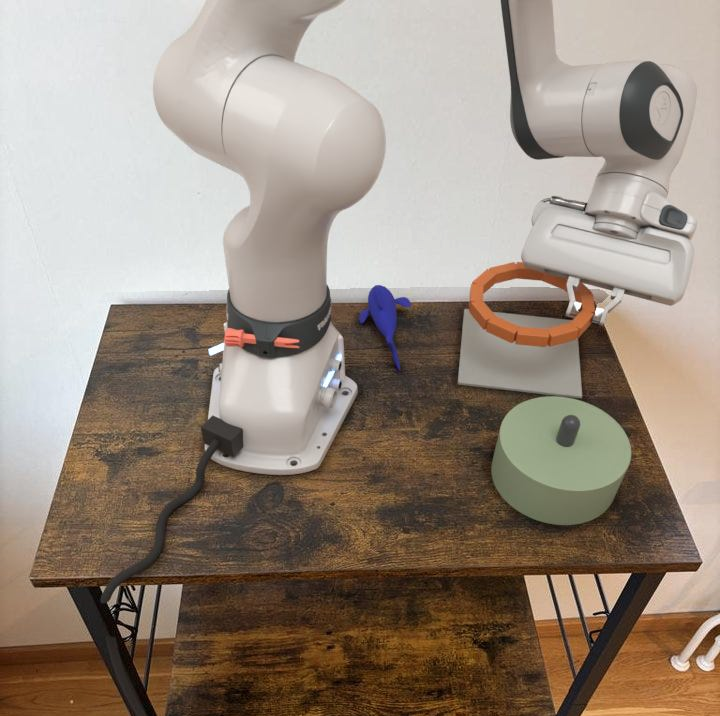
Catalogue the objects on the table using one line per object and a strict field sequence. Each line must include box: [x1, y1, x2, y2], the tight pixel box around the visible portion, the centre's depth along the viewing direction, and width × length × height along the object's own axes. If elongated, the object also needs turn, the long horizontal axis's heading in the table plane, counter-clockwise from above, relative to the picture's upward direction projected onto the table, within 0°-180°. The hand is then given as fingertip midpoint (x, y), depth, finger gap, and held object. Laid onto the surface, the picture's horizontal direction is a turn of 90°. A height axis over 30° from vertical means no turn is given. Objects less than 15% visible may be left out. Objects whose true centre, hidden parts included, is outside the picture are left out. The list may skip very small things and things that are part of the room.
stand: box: [490, 395, 632, 526], centre depth 82 cm, size 14×14×10 cm
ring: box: [468, 261, 596, 347], centre depth 94 cm, size 16×16×2 cm
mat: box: [457, 308, 583, 399], centre depth 100 cm, size 16×16×1 cm
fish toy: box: [358, 284, 412, 372], centre depth 99 cm, size 15×8×7 cm, turn 7°
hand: (584, 320), depth 92 cm, fingers closed on ring, 2 cm apart
